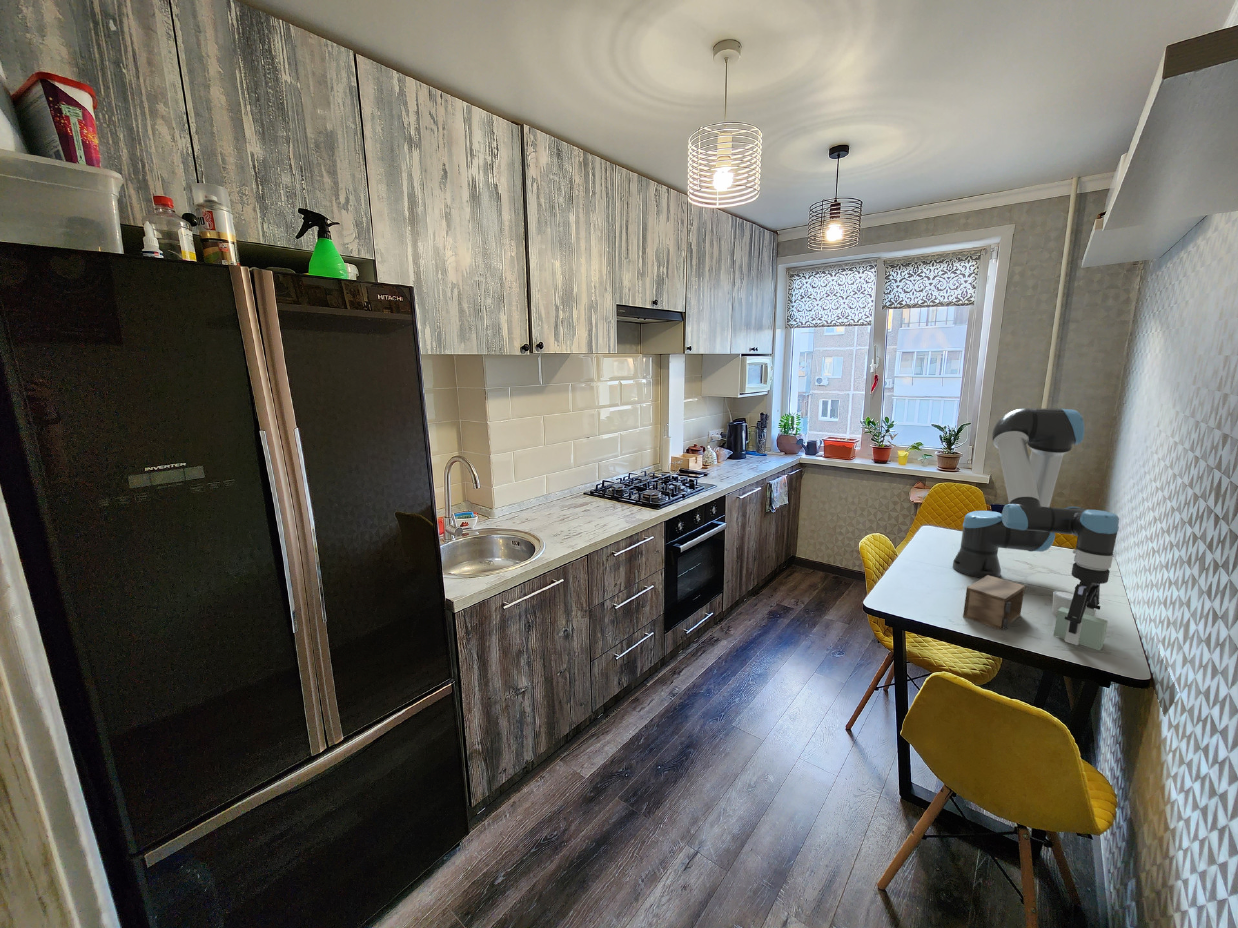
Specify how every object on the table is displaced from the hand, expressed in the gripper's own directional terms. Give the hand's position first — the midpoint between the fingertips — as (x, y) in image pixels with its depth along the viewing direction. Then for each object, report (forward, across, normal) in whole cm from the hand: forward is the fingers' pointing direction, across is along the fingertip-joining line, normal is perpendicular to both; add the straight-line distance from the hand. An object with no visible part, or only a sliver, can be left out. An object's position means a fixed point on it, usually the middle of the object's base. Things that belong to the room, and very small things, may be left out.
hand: (1078, 635), depth 142 cm
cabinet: (+2, +3, -20) cm, 20 cm away
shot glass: (+2, -16, -7) cm, 18 cm away
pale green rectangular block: (+2, 0, 0) cm, 2 cm away
